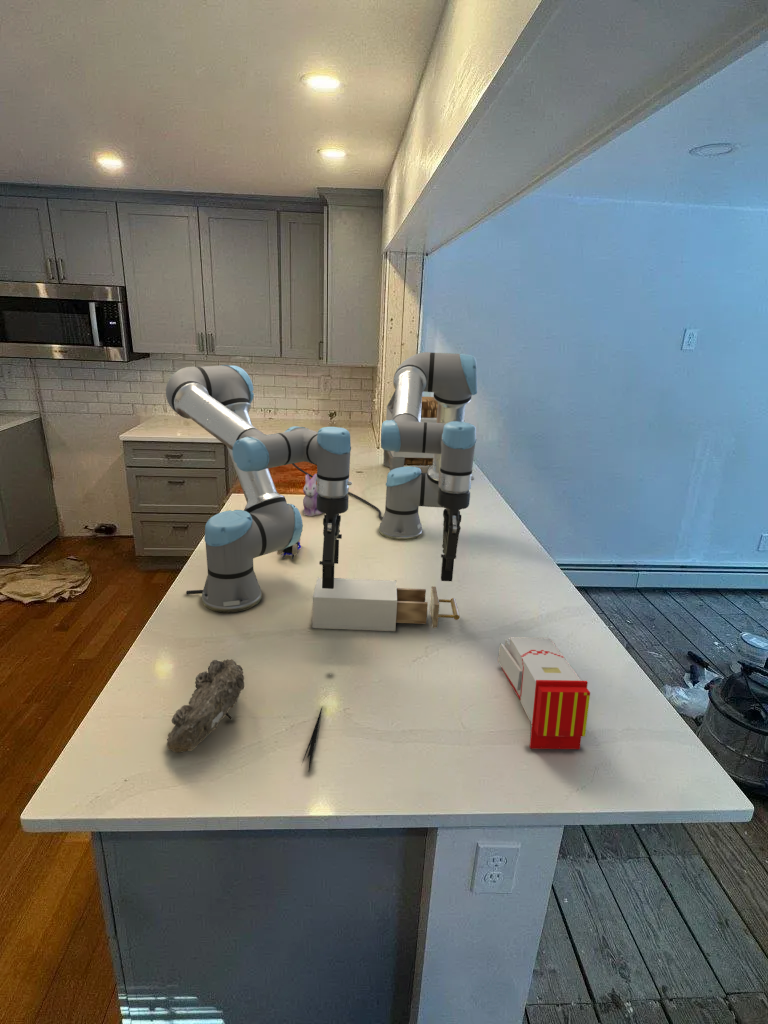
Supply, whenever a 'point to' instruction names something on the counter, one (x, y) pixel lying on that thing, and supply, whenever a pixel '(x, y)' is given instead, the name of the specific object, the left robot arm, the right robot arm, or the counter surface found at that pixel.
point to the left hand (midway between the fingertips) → (330, 574)
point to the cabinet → (355, 605)
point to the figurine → (310, 496)
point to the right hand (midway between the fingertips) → (446, 579)
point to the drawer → (421, 606)
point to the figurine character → (290, 550)
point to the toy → (546, 691)
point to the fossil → (206, 705)
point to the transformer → (412, 458)
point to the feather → (313, 740)
